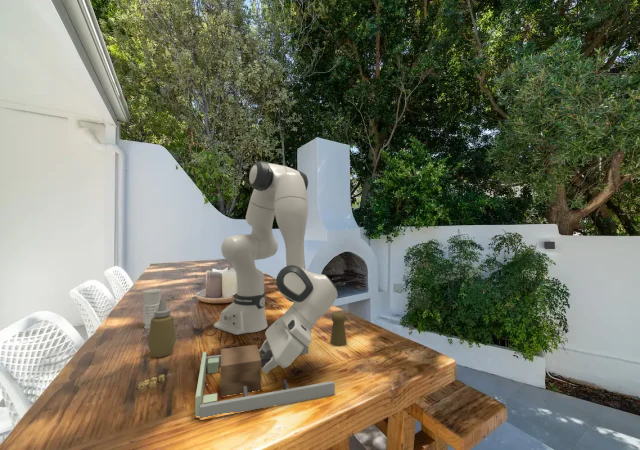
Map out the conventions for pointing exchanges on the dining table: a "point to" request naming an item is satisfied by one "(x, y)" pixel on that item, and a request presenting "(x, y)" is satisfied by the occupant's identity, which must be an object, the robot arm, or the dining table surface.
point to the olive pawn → (338, 329)
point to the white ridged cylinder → (150, 305)
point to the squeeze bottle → (161, 332)
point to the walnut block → (240, 370)
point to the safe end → (212, 368)
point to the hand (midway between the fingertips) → (261, 362)
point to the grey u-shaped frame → (267, 394)
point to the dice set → (152, 383)
